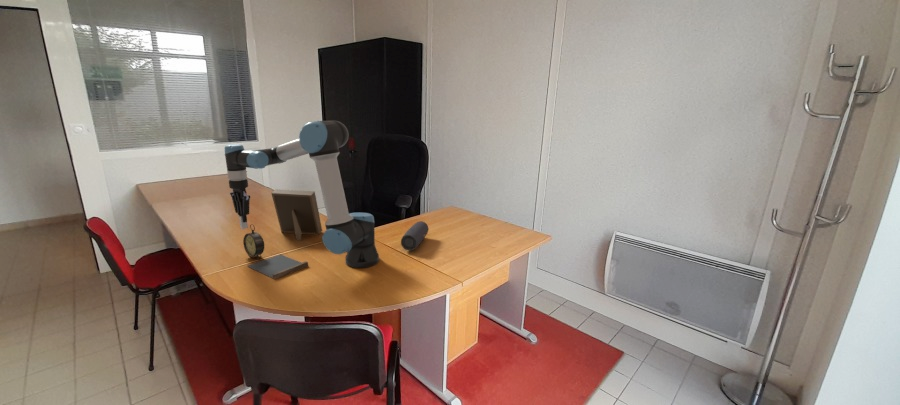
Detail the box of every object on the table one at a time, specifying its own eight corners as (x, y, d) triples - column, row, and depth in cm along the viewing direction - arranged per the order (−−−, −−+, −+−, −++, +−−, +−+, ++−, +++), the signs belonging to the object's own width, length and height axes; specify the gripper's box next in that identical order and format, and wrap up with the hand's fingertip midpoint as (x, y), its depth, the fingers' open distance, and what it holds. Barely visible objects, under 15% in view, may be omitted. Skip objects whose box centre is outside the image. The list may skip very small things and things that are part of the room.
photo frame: (285, 229, 211) (281, 186, 204) (322, 232, 209) (319, 188, 202) (270, 239, 196) (265, 193, 190) (310, 241, 194) (306, 195, 188)
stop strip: (308, 266, 166) (307, 261, 165) (274, 279, 153) (274, 274, 152) (306, 265, 167) (305, 261, 166) (272, 278, 154) (272, 273, 153)
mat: (307, 265, 166) (307, 264, 166) (274, 279, 153) (274, 278, 153) (280, 255, 177) (280, 254, 176) (247, 266, 164) (247, 265, 163)
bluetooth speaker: (417, 254, 183) (417, 234, 180) (399, 252, 184) (399, 233, 182) (429, 238, 204) (429, 221, 202) (413, 236, 206) (413, 219, 203)
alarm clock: (244, 255, 174) (240, 223, 170) (255, 252, 179) (251, 220, 175) (256, 261, 169) (252, 228, 164) (268, 258, 173) (264, 225, 169)
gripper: (254, 179, 168) (259, 228, 174) (238, 176, 175) (244, 223, 181) (237, 182, 162) (243, 233, 168) (222, 178, 169) (228, 227, 175)
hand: (244, 228), depth 174 cm, fingers closed
